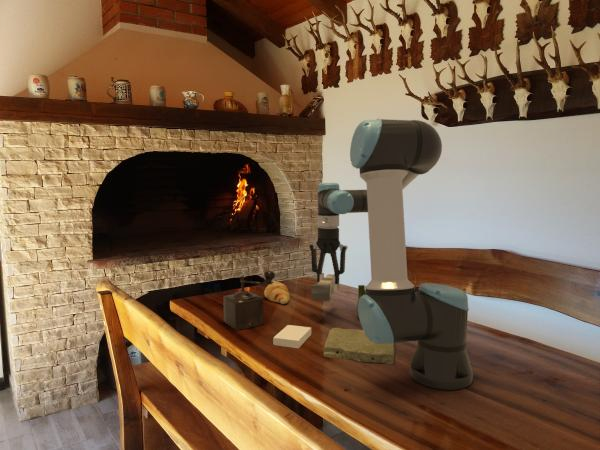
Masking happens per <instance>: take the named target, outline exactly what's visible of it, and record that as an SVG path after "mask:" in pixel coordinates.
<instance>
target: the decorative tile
mask: <svg viewBox="0 0 600 450" xmlns="http://www.w3.org/2000/svg"><path fill="white" fill-rule="evenodd" d="M395 347H396V343H393V344H388V343H387V344H376V343H373V342H371V341H370V340H369V339H368V338H367V336H366V335H365V333H364V331H363V329H356V328H355V329H353V328H340V327H332V328H331V329H329V332H328V335H327V337H326V340H325V344H324V348H323V357H324V358H327V359H330V358H332V359H333V358H334V359H336V358H338V359H345V360H352V361H356V362H361V363H362V362H365V363H372V364H373V363H376V364H378V363H379V364H387V365H388V364H389V365H394V364H395V355H396V354H395V349H396V348H395Z"/></svg>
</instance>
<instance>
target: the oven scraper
mask: <svg viewBox="0 0 600 450" xmlns="http://www.w3.org/2000/svg"><path fill="white" fill-rule="evenodd" d="M334 274H335V273H333V274H331V273H330V274H329V273H328V274H327V275H326V276H324V278H323V279H322V280H321V281H320V282H317V283H315V284H314V283H313V284H311V289H310V290H311V294H310V295H311V301H320V302H330V301H331V297H332V296H333V295H334V294H333V275H334ZM339 289H340V282H339V283H338V284H337V291H338V290H339Z"/></svg>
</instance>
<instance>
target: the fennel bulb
mask: <svg viewBox="0 0 600 450" xmlns="http://www.w3.org/2000/svg"><path fill="white" fill-rule="evenodd" d="M366 286H367V285H364V284H358V285H357V287H358V298H357V303H356V313H357V314H356V315H357V317H358V318H359V314H358V304H359V299H360V297H362V296H363V295H366Z"/></svg>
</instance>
